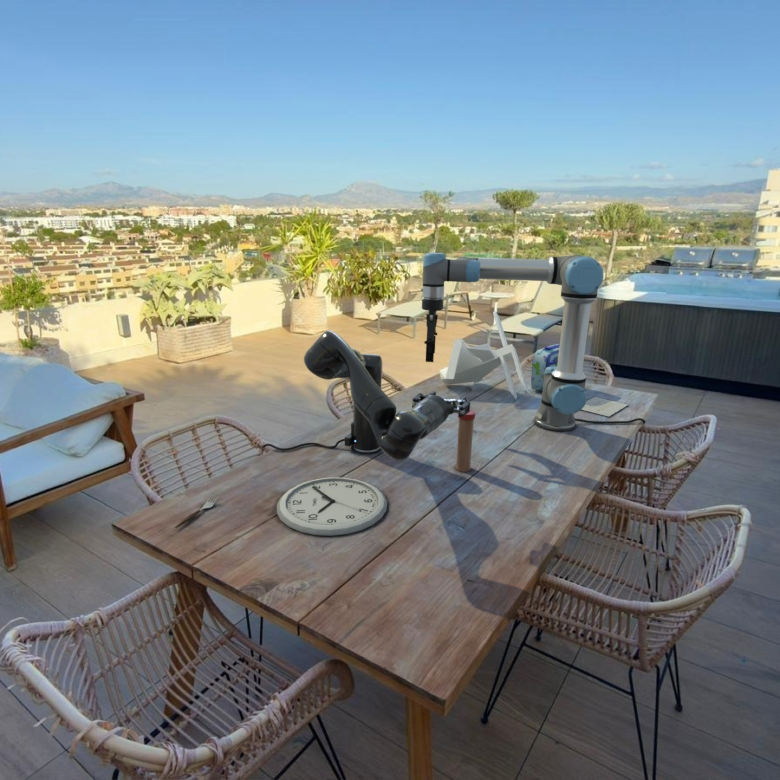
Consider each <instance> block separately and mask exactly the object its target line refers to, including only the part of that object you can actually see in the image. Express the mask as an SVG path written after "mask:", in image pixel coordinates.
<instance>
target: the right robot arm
mask: <svg viewBox="0 0 780 780" xmlns="http://www.w3.org/2000/svg"><path fill="white" fill-rule="evenodd" d="M422 264H423V265H422V288H420V292H421V293H422V294H421V296H422V299H421V309H422V310H423V311H428V313H426V316H425V320H426V340H424V342H423V343H424V344H425V362H426V363H434V359H435V357H434V356H435V353H436V338H437V337H436V336H438V332H437V329H436V328H437V324H438V318H439V315H438V314H437V311H438V312H439V311H442V310H444V299H443V298H444V297H445V282H447V283H449V282H452V283H453V282H457V283H468V284H470V283H477V282H479V281H480V280H495V281H497V280H499V281H500V280H501V281H526V282H527V281H531V282H546V283H547V284H548V285H557V286H561V289H560V298H561V299H562V300H563V303H564V305H563V313H562V322H561V330H560V339H559V344H560V346H559V355H558V364H557V366H553V367H547V368H546V369H545V373H544V382H543V391H541V392H542V394H541V402H540V405H539V407H538V410H537V411H536V413H535V416H534V424H535V425H536V426H537V427H539V428H542V429H544V430H549V431H556V432H567V431H572V430H574V429H575V428H576V422H581V423H586V424H599V425H600V424H602V425H603V424H604V425H605V424H608V425H609V424H616V425H617V424H630V423H634V422H638V421H641V422H643V423H646V422H647V421H646V420H645V419H644V418H641V417H637V418H634V419H630V420H603V421H602V420H586V419H581V418H575V417H576V416H575V414H576V413H579V412H580V411H582V410H581V409H582V408H583V407H584V406H585V404H586V401H588V397H587V392H586V389H585V388H586V383H587V382H586V381H587V375H586V374H585V373H584V371H583V369H584V361H585V355H586V347H587V339H588V338H587V337H588V330H589V324H590V318H591V317H590V316H591V308H592V303H593V302H594V301H596V300H597V298H598V294H599V293H598V291H599V288H601V285H602V284H603V281H604V269H603V267H602V265H601V264H600V262H599V261H597V260H596V259H595V258H594V257H592V256H587V255H581V254H574V255H573V254H572V255H565V256H551V257H549V258H548V259H545V258H544V259H543V258H542V259H541V258H540V259H539V258H501V257H500V258H497V257H496V258H495V257H494V258H492V257H466V256H460V257H457V258H455V259H451V258H449V259H448V258H447V257H446V253H444V252H427V253H425V254H424V255H423V263H422Z"/></svg>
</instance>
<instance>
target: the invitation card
mask: <svg viewBox="0 0 780 780" xmlns="http://www.w3.org/2000/svg"><path fill="white" fill-rule="evenodd" d="M628 406H629V404H627V403H623V402H618V401H614V400H609V399H605V398H601V397H596V396H593V397H592V398H590V399H587V401H586V404H585V406H584V407H583V408H582V409H581V410H580V411H584V412H587V413H593V414H596V415H600V416H604V417H608V418H609V417H611V416H613V415H614V414H616V413H617V412H619V411H621V410H623V409H624V408H626V407H628Z"/></svg>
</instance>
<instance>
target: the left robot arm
mask: <svg viewBox="0 0 780 780" xmlns="http://www.w3.org/2000/svg"><path fill="white" fill-rule="evenodd" d="M303 362H304V365H305V367H306V369H307V370H308V371H309V372H310V373H311V374H312V375H314V376H316V377H318V378H320V379H323V380H326V381H330V380H334V379H342V380H346V381H347V380H349V389H350V390H349V391H350V395H351V399H352V402H353V403H352V404H353V406H352V407H353V408H352V410H353V411H352V413H353V415H352V416H353V417H352V419H353V421H352V422H351V423H350V433H348V434H347V435H345V436H344V438H342V439H339V440H337V441H336V443H335V444H334V445H331V446H329V445H324V444H321V443H317V442H304V443H301V444H297V445H294V446H292V447H284V448H283V447H278V446H276V445H274V444H272V443H265V444H263V445H262V446H261V448H262V449H263V448H264V449H265V448H266V447H270V448H273V449H275V450H276V451H277V450H278V451H282V452H283V451H290V450H295V449H298V448H301V447H305V446H318V447H320V448H323V449H325V448H326V449H335V448H337V447H338V445H339V444H341V443H342V442H344V447H350V449H351V450H353V451H355V452H356V453H358V454H367V455H368V454H369V455H370V454H376V453H378V452H379V451H380V450H381V451H382V452H383V453H384V454H385V455H386V456H387V457H389V458H390V459H392V460H395V461H404V460H407V459H408V458H409V457H410V456H411V455H412V453H413V451H414V449H415V447H416V446H417V444H418V442H419V441H420V440H423V439H424V438H426V437H427V436H428V435H430V434H431V433H432V432H434V431H435V430H436V429H438V428H439V427H440V426H441V425H442V424H444V423H445V422H446V420H448V417H449V416H450V415H453V414H457V416H458V415H459V417H463V416H465V415H466V414H467V413H469V412H470V410H471V403H472V402H470V401H469V400H468V398H467V396H462V397H461V398H460V399H456V398H450V399H446V398H443V397H441V396H439V395H437V392H436V391H435V390H434V391H433V390H432V391H431V392H428V393H425V395H424V394H423V393H421V392H420V393H417V394H416V395H415V396H413V397H412V403H411V409H408V410H407V409H406V410H400V411H398V412H397V406H396V404H395V403H394V401H393V400H392V399H391V398H390V397H389V395H387V393H385V391H384V390H383V389H382V379H383V358H382V356H381V354H375V353H373V354H372V353H361V351H359V350H357V349H355V348H352V347H351V346H350V344H349V343H348V342H347V341H346V340H345V339H343V337H342V336H340V335H339V334H338V333H336V332H334V331H332V330H326V331H324V332H323V333H321V334H320V336H319V337H318V338H317V339H316V340H315V341H314V342H313V344H312V345H311V346H310V347H309V348H308V349H307V350H306V352H305V354H304V355H303Z"/></svg>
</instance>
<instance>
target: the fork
mask: <svg viewBox="0 0 780 780" xmlns="http://www.w3.org/2000/svg"><path fill="white" fill-rule="evenodd" d="M219 496H220V494H218V493H213V492H212V493H211V494H210V497H208V500H207V501H206V502H205V503H204V504H203V505H202V507H201V508H200V509H198V510H196V511H194V512H193V513H191V514H189V515H188V516H187V517H185V518H184V519H183V520H182V521H181V522H179V523H178V524H177V525H175V527H174V528H175V529H177V528H179V527H180V526H182V525H184V524H185V523H187V522H189V521H190V520H192V519H194V517H196V516H197V515H198V514H199V513H201V511H203V510H204V509H210V508H212V507H213V506H214V505H215V504H216V502H217V500H218V498H219Z"/></svg>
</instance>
